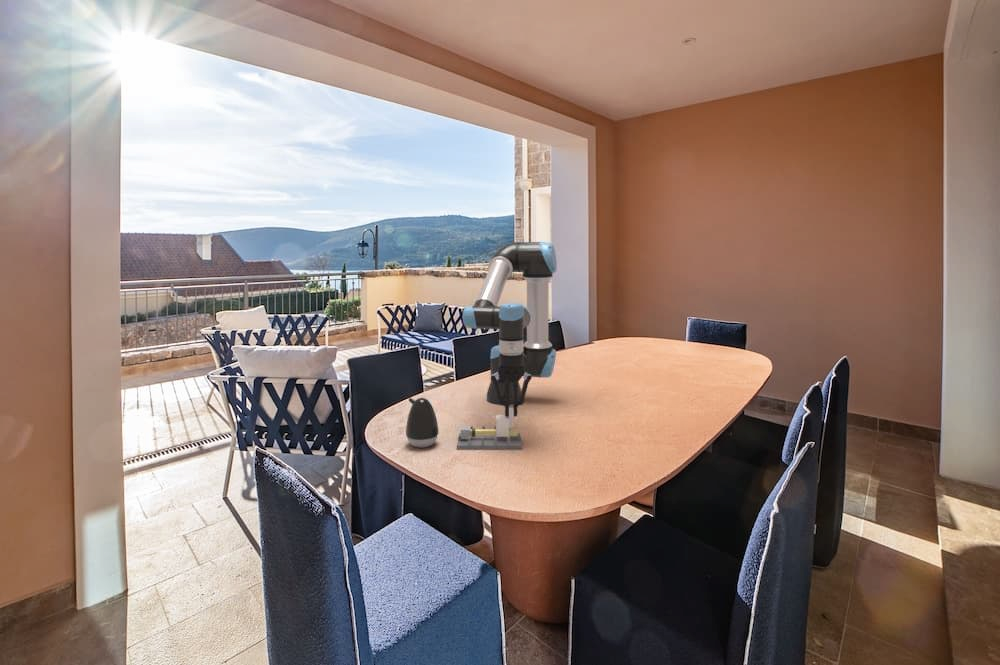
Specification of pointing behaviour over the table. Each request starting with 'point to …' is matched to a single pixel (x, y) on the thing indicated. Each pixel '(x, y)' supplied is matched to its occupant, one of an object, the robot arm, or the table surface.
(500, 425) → the sleeve
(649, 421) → the table surface
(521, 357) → the robot arm
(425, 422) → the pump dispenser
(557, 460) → the table surface
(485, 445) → the cable comb
